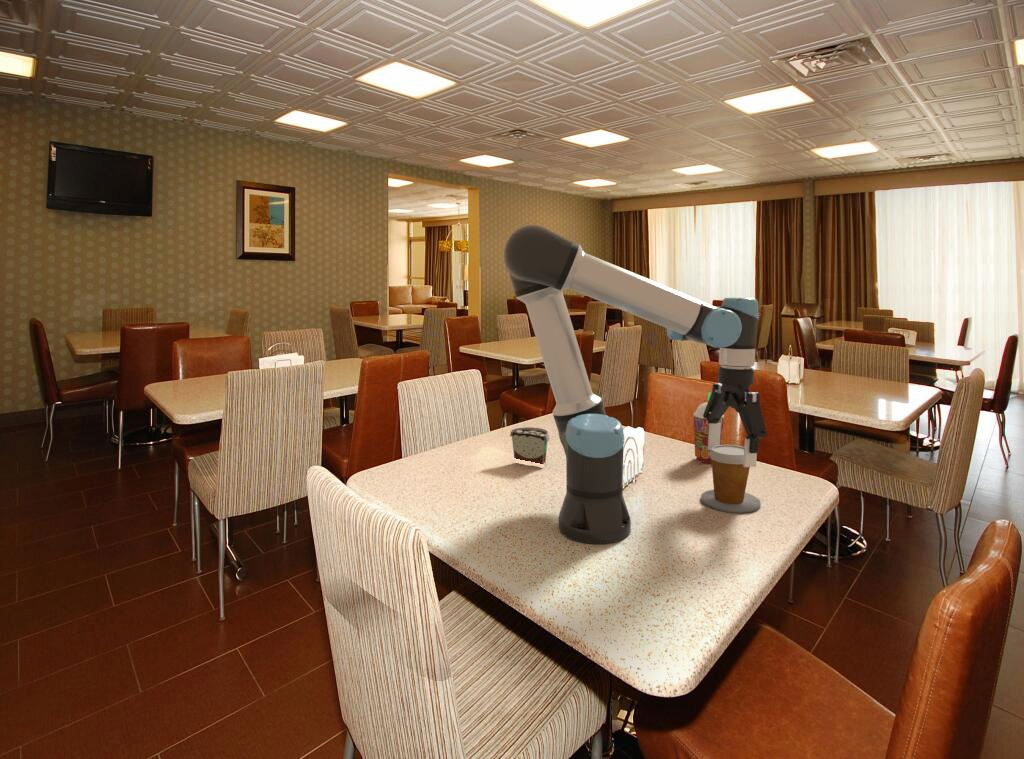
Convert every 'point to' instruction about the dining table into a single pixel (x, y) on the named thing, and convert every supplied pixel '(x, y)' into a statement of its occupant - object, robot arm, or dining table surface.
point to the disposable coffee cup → (729, 473)
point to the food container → (530, 444)
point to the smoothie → (703, 433)
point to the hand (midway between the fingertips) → (730, 457)
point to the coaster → (746, 506)
